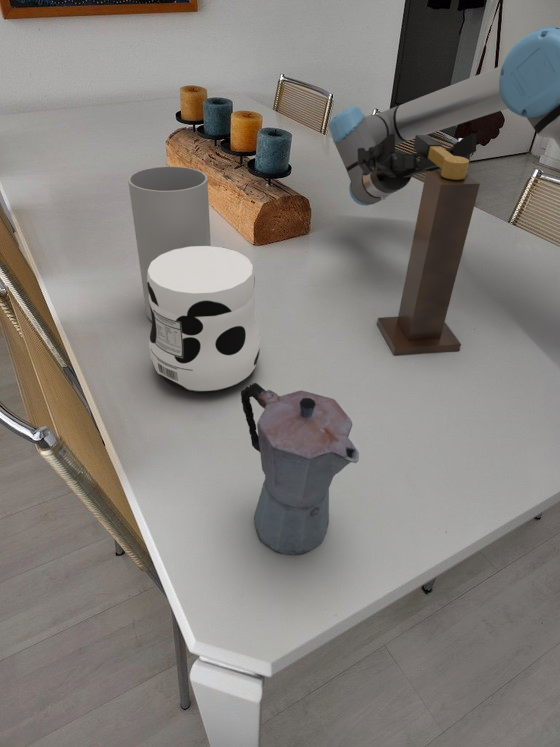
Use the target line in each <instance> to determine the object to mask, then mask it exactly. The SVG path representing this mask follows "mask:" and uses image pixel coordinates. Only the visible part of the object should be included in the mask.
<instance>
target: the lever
mask: <svg viewBox="0 0 560 747" xmlns="http://www.w3.org/2000/svg"><path fill="white" fill-rule="evenodd" d="M445 149H446V148H444V147H443V145H442V144H441V143H440V142H438V141H437V140H435V139H434V138H433V137H432V136H430V134H427V135H416V136H415V139H414V143H413V150H414V151H415V152H416V153H419V154H420V155H422V156H423V157H424V158H425V159H430V160H431V161H432V162H433V163H435V164H436V165H437V166H438V167H440V168H441V169H442V170H440V171H441V176H442V177H444V178H447V179H452V180H461V179H464V178H465V176H466V174H467V173H468V172H467V171H468V168H469V163H470V162H469V160H468V159H466V158H464V157H459V156H453V155H452V154H451V153H449V152H448V151H446V150H445Z"/></svg>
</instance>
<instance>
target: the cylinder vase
mask: <svg viewBox="0 0 560 747" xmlns="http://www.w3.org/2000/svg"><path fill="white" fill-rule="evenodd" d="M127 182H128V190H129V197H130V204H131V211H132V218H133V225H134V234H135V240H136V248H137V254H138V255H137V256H138V262H139V271H140V277H141V285H142V291H143V299H144V306H145V313H146V315H147V316H146V317H147V318H148V319H149V320H150V321H151V322H152V316H151V310H150V304H149V291H148V285H147V272H148V268H149V266H150V264H151V262H152V261H153V260H155V259H156V258H157V257H158V256H160V255H162V254H164V253H167V252H169V251H172V250H174V249H180V248H185V247H190V246H212V245H211V244H212V243H211V220H210V203H209V202H210V201H209V200H210V199H209V182H208V175H207V174H206V173H205V172H203V171H201V170H199V169H195V168H191V167H186V166H178V165H177V166H175V165H170V166H169V165H167V166H165V165H164V166H154V167H148V168H144V169H141V170H140V169H139V170H137V171H135V172H133V173H131V174H130V175H129V176H128V178H127Z"/></svg>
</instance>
